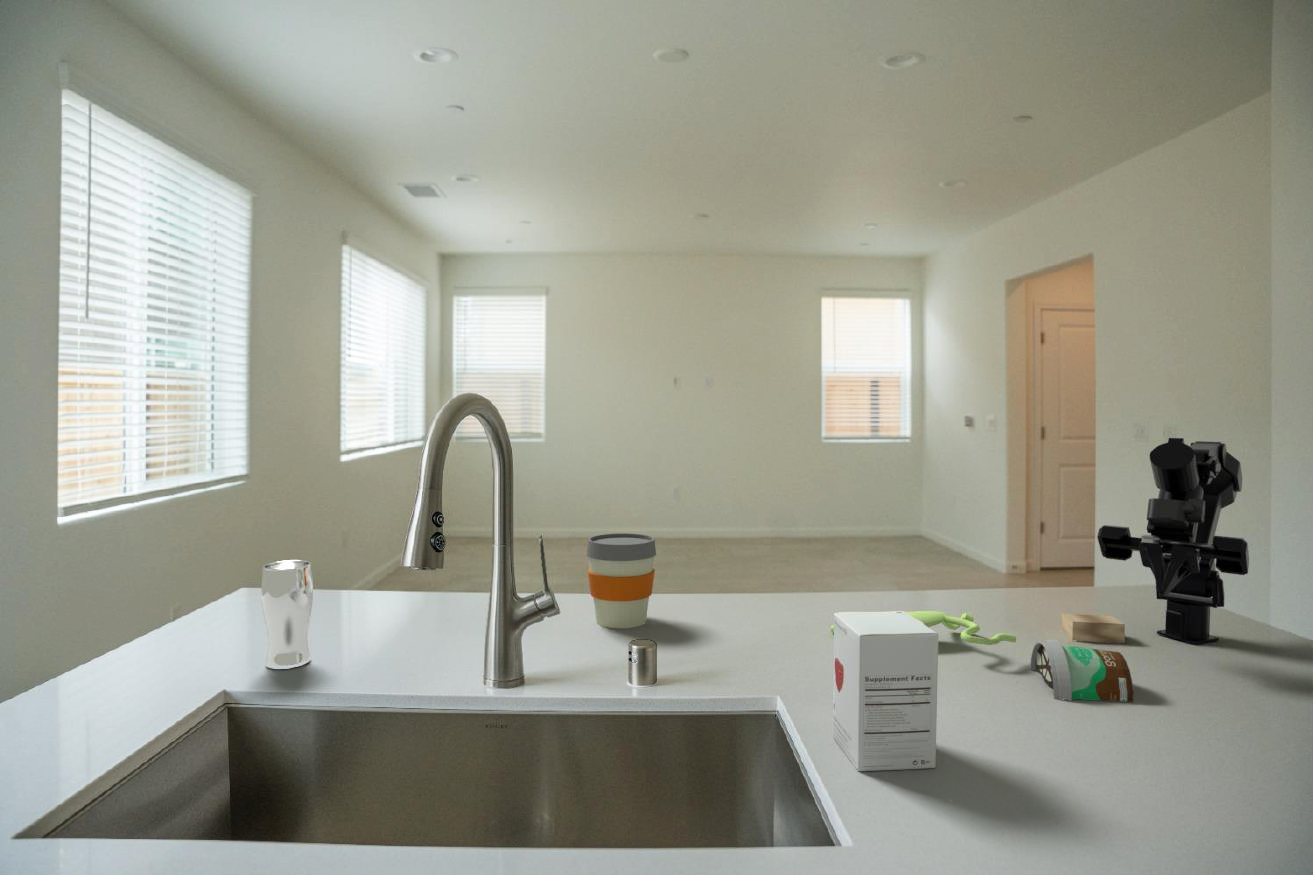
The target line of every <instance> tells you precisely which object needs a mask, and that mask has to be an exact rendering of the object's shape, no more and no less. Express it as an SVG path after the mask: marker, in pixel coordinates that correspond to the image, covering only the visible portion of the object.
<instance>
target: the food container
mask: <svg viewBox="0 0 1313 875" xmlns="http://www.w3.org/2000/svg"><path fill="white" fill-rule="evenodd" d="M1029 665H1030V666H1029V667H1030V668H1029V670H1030V671H1035V670H1037V671H1036V672H1038V673H1039V674H1040V675H1041V676H1042V679H1043V681H1044V683H1045V684H1046V685H1048V686H1049V687H1050V688H1051V689H1052V691H1053V699H1055V698H1059V699H1058V700H1060V699H1064V700H1063V701H1067V700H1068V702H1072V700H1077V699H1082V701H1104V702H1105V701H1106V702H1107V701H1108V702H1110V701H1111V702H1130V703H1131V702H1134V687H1133V679H1132V675H1131V671H1130V670H1131V669H1130V667H1129V665H1128V662H1127V660H1126V659H1125V657H1124V655H1123V654H1122V653H1120V652H1119V651H1111V650H1105V649H1097V648H1090V647H1088V648H1087V647H1083V646H1082V647H1081V646H1072V645H1065V644H1061V643H1060V641H1059V640H1057V639H1054V638H1053V639H1046V640H1042V641H1040V642H1036V643H1035V645H1034V647H1033V649H1032V652H1031V657H1030V664H1029Z"/></svg>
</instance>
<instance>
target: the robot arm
mask: <svg viewBox="0 0 1313 875" xmlns="http://www.w3.org/2000/svg"><path fill="white" fill-rule="evenodd" d="M1149 461H1150V466H1151V470H1152V475H1153V479H1154V480H1153V481H1154V484H1155V487H1156V488H1157V489H1158V490H1159V492H1158V497H1157V498H1154V497H1151V498H1149V499H1148V504H1147V512H1146V520H1147V525H1146V531H1147V534H1141V536H1140V537H1137V536H1135V537H1134V536H1132V534H1131V530H1130V527H1129V526H1128V527H1127V526H1119V525H1109V524H1108V525H1107V524H1106V525H1105V524H1104V525H1102V526H1100V528H1099V529H1098V532H1097V541H1098V544H1099V549H1100V552H1101V556H1102V557H1103V558H1105V559H1109V560H1110V559H1111V560H1115V561H1116V560H1117V561H1123V562H1124V561H1127V560H1129V559H1131V558H1133V553H1134V552H1139V555H1140V560H1141V565H1142V566H1143V567H1145V568H1149V569H1150V571H1151V572H1152V576H1153V577H1154V580H1155V591H1156V600H1165V601H1166V610H1165V623H1164V624H1165V629H1159V630H1156V634H1157V635H1159V636H1160V635H1161V636H1165V637H1167V638H1171V639H1175V640H1178V641H1182V642H1185V643H1188V644H1193V645H1198V644H1203V643H1204V644H1205V643H1209V642H1215V641H1220V637H1219V636H1216V635H1212V634H1210V628H1211V627H1210V626H1211V625H1210V623H1211V608H1214V609H1217V608H1224V607H1225V587H1224V580H1223V579H1222V578H1221V575H1220V572H1221V574H1222V573H1223V574H1224V573H1225V574H1231V575H1239V576H1244V575H1248V574H1249V566H1250V554H1249V544H1248V543H1249V542H1247V540H1245V538H1244V537H1233V536H1232V537H1231V536H1225V535H1224V536H1222V535H1216V531H1217V527H1218V524H1219V518H1220V515H1221V511H1222V509H1224V508H1225V507H1228V506H1229V505H1232V504H1234V503H1235V501H1236V498H1237V496H1238V495H1237V494H1238V493H1240V492H1241V491H1242V488H1243V473H1242V467H1241V462H1240V460H1238V459H1237V458H1236V457H1235V456H1233V455H1232V454H1230V453H1229V452H1228V451H1227V444H1226V443H1223V442H1221V441H1200V440H1199V441H1197V440H1196V441H1195V442H1190V445H1189V444H1187V443H1185V438H1183V437H1168V441H1167V442H1165V443H1162V444H1159V445H1158V446H1155V447H1154V448H1153V449H1152V450H1151V451H1150V452H1149ZM1216 569H1217V570H1216ZM1219 571H1220V572H1219Z"/></svg>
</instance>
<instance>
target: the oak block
mask: <svg viewBox="0 0 1313 875" xmlns="http://www.w3.org/2000/svg"><path fill="white" fill-rule="evenodd" d="M1125 624H1126V623H1124V622H1122V621H1121V620H1119V619H1117V618H1116V617H1115V616H1113V615H1098V614H1081V613H1080V614H1078V613H1077V614H1076V613H1061V626H1060V628H1061V629H1060V631H1061V633H1062V632H1063V633H1065V634H1066V635H1067V636H1068V637H1069V638H1070V639H1072V640H1081V641H1080V642H1083V641H1093V642H1092V643H1104V642H1109V643H1108V644H1110V642H1111V644H1125V638H1126V637H1125V632H1126V628H1125V627H1126V625H1125ZM1063 633H1062V634H1063ZM1067 636H1066V637H1067ZM1068 637H1067V638H1068ZM1069 638H1068V639H1069ZM1070 639H1069V640H1070ZM1072 640H1071V641H1072ZM1112 642H1113V643H1112Z"/></svg>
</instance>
